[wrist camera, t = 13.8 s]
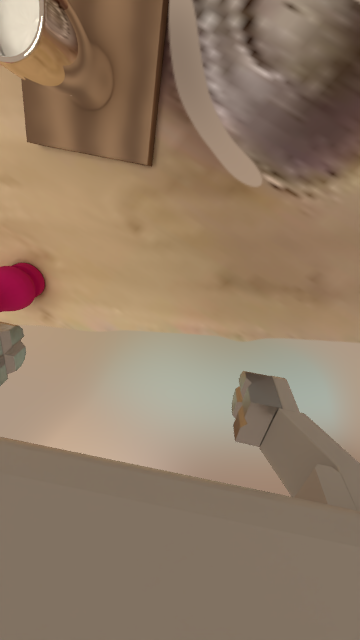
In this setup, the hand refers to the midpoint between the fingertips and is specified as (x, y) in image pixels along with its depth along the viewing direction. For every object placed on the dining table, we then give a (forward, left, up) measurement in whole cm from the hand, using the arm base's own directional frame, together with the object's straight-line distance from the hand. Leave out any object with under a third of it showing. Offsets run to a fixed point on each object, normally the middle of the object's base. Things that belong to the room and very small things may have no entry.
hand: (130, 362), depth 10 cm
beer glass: (+15, -15, -31) cm, 38 cm away
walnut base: (+15, -15, -34) cm, 40 cm away
